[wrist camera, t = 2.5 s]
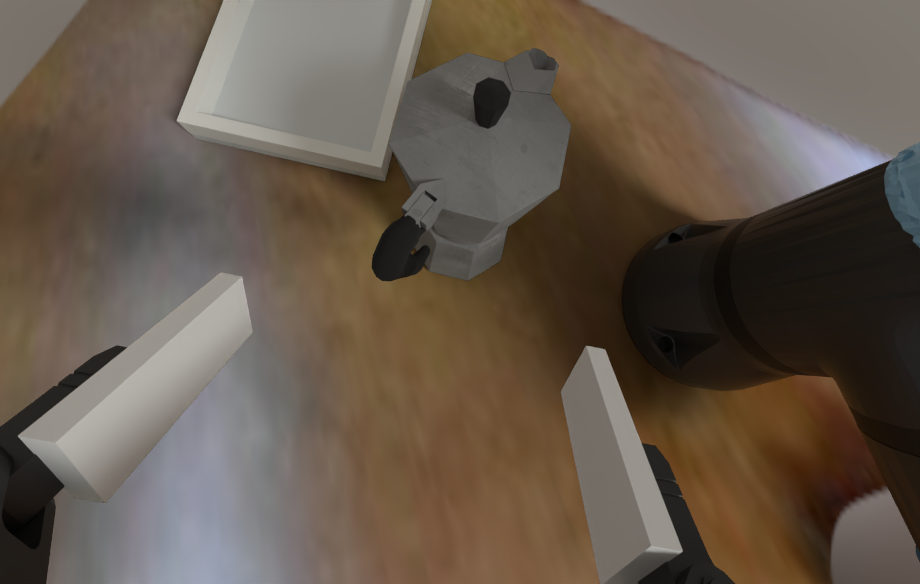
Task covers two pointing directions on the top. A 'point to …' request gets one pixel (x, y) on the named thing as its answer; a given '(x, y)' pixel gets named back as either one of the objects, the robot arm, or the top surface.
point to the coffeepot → (472, 162)
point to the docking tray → (307, 79)
